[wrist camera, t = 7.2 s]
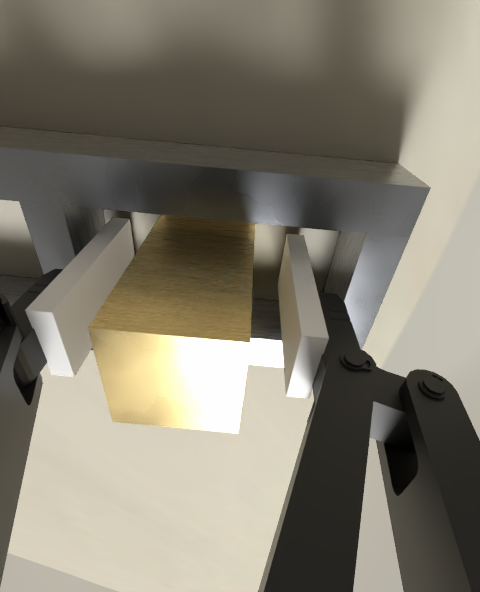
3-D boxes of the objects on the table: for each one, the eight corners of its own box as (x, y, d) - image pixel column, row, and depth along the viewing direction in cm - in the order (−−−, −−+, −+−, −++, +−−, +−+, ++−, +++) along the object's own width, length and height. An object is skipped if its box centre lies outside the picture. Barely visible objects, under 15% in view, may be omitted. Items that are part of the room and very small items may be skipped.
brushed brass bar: (165, 208, 14) (87, 327, 8) (255, 216, 14) (250, 342, 8) (169, 282, 17) (112, 421, 10) (246, 289, 17) (238, 433, 10)
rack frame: (-261, 101, 13) (-384, 111, 10) (398, 163, 13) (430, 187, 10) (-125, 288, 18) (-185, 324, 16) (339, 331, 18) (351, 373, 16)
